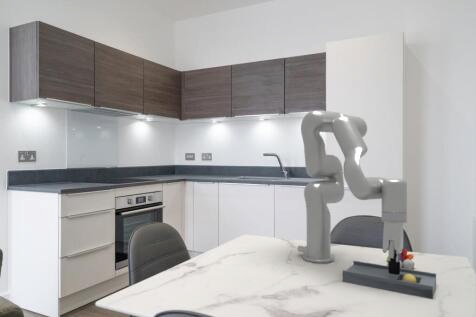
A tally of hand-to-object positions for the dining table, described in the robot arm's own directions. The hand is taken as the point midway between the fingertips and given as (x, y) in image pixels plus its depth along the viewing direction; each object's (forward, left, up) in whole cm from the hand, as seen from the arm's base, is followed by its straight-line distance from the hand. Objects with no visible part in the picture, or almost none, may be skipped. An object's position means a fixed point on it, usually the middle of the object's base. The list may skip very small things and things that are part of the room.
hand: (394, 273), depth 112 cm
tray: (-2, 0, -3) cm, 4 cm away
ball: (+4, 0, -1) cm, 5 cm away
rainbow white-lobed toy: (-1, +20, -4) cm, 21 cm away
